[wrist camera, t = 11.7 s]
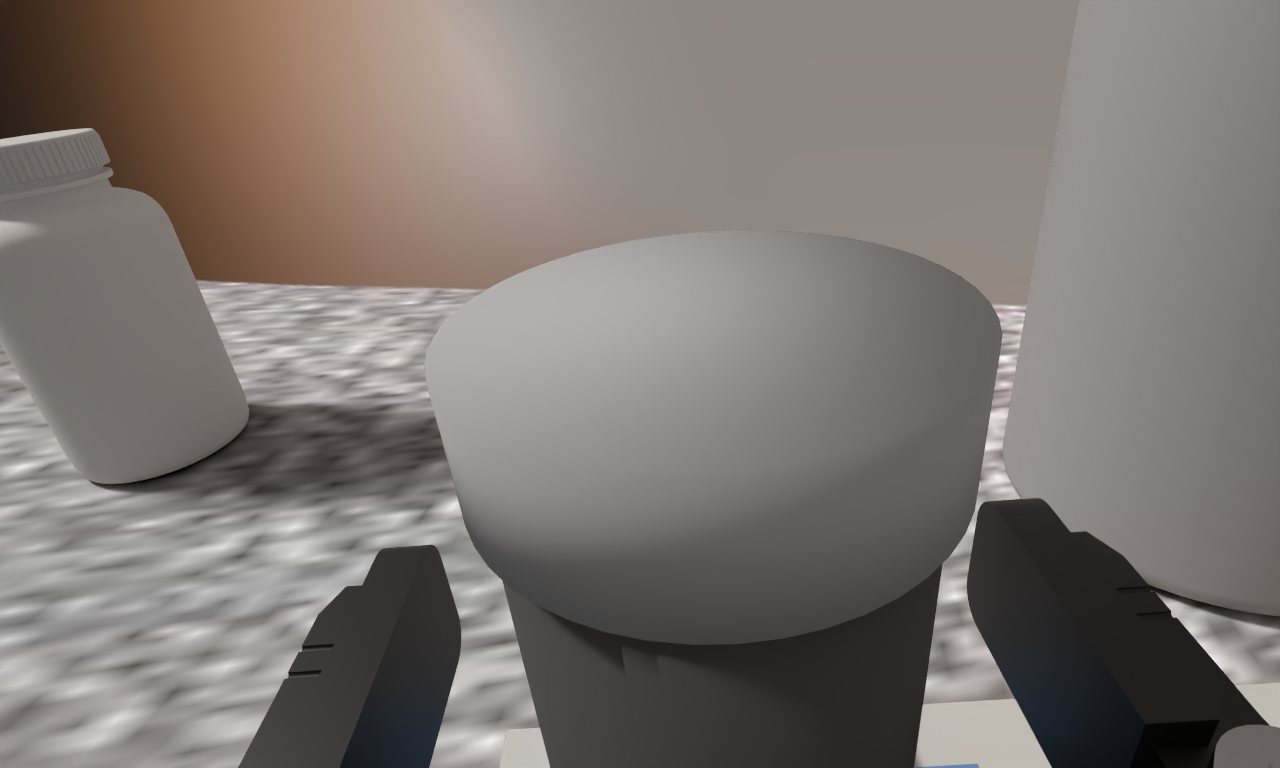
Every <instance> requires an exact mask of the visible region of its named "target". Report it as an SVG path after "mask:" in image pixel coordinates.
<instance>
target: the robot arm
mask: <svg viewBox="0 0 1280 768" xmlns="http://www.w3.org/2000/svg"><path fill="white" fill-rule="evenodd" d="M967 594H968V601H969V606H970V610H971V613H972V616H973V619H974V621H975V623H976V626H977V628H978V629H979V631H980V633H981V635H982V637H983V639H984V641H985V643H986V645H987V646H988V648H989V650H990V652H991V654H992V656H993V658H994V660H995V662H996V663H997V665H998V667H999V669H1000V671H1001V673H1002V675H1003V677H1004V679H1005V680H1006V682H1007V684H1008V686H1009V688H1010V690H1011V692H1012V694H1013V696H1014V697H1015V699H1016V701H1017V703H1018V705H1019V707H1020V709H1021V711H1022V713H1023V714H1024V716H1025V718H1026V720H1027V722H1028V724H1029V726H1030V728H1031V730H1032V731H1033V733H1034V735H1035V737H1036V739H1037V741H1038V743H1039V745H1040V747H1041V748H1042V750H1043V752H1044V754H1045V756H1046V758H1047V760H1048V762H1049V764H1050V765H1051V767H1052V768H1280V728H1279V727H1274V726H1270V725H1269V724H1268V723H1267V722H1266V721H1265V720H1264V719H1263V718H1262V717H1261V715H1260V714H1259V713H1258V712H1257V711H1256V710H1255V708H1254V707H1253V706H1252V705H1251V704H1250V703H1249V701H1248V700H1247V699H1246V698H1245V697H1244V696H1243V694H1242V693H1241V692H1240V691H1239V690H1238V689H1237V687H1236V686H1235V685H1234V684H1233V683H1232V682H1231V680H1230V679H1229V678H1228V677H1227V676H1226V675H1225V673H1224V672H1223V671H1222V670H1221V669H1220V668H1219V666H1218V665H1217V664H1216V663H1215V662H1214V661H1213V659H1212V658H1211V657H1210V656H1209V655H1208V654H1207V652H1206V651H1205V650H1204V649H1203V648H1202V647H1201V645H1200V644H1199V643H1198V642H1197V641H1196V640H1195V638H1194V637H1193V636H1192V635H1191V634H1190V633H1189V631H1188V630H1187V629H1186V628H1185V627H1184V626H1183V624H1182V623H1181V622H1180V621H1179V620H1178V619H1177V618H1173V617H1172V615H1171V611H1170V609H1169V608H1168V607H1167V606H1166V605H1165V604H1164V602H1163V601H1162V600H1161V599H1160V598H1159V597H1158V595H1157V594H1156V593H1155V592H1151V591H1150V589H1149V585H1148V584H1147V583H1146V581H1145V580H1144V579H1143V578H1142V577H1141V576H1140V574H1139V573H1138V572H1137V571H1136V570H1135V569H1134V567H1133V566H1132V565H1131V564H1130V563H1129V562H1128V560H1127V559H1126V558H1125V557H1124V556H1123V555H1122V554H1120V553H1119V552H1117V551H1116V550H1114V549H1113V548H1111V547H1109V546H1108V545H1106V544H1105V543H1103V542H1102V541H1100V540H1099V539H1097V538H1096V537H1094V536H1093V535H1091V534H1090V533H1088V532H1087V531H1082V532H1070V531H1069V529H1068V528H1067V527H1066V526H1065V524H1064V523H1063V522H1062V521H1061V519H1060V518H1059V517H1058V516H1057V514H1056V513H1055V512H1054V511H1053V509H1052V508H1051V507H1050V506H1049V505H1048V503H1047V502H1045V501H1044V500H1043V499H1040V498H1029V499H1015V500H1002V501H989V502H984V503H983V504H982V505H981V506H980V508H979V511H978V516H977V522H976V528H975V534H974V541H973V547H972V553H971V559H970V565H969V572H968V578H967ZM460 649H461V626H460V620H459V615H458V612H457V609H456V605H455V602H454V599H453V596H452V592H451V589H450V586H449V583H448V579H447V576H446V573H445V569H444V566H443V563H442V560H441V556H440V554H439V551H438V549H437V548H436V547H435V546H434V545H423V546H410V547H396V548H385V549H382V550H381V551H380V552H379V553H378V554H377V556H376V558H375V560H374V562H373V564H372V566H371V568H370V570H369V572H368V575H367V577H366V579H365V581H364V583H363V585H361V586H347V587H345V588H344V589H343V590H342V591H341V592H340V593H339V594H338V595H337V596H336V597H335V598H334V599H333V600H332V601H331V602H330V603H329V605H328V606H327V607H326V608H325V609H324V610H323V611H322V612H321V613H320V614H319V615H318V616H317V618H316V620H315V622H314V624H313V626H312V628H311V630H310V632H309V634H308V636H307V637H306V639H305V641H304V643H303V645H302V652H299V653H298V655H297V657H296V658H295V660H294V662H293V664H292V666H291V668H290V670H289V672H288V673H289V677H288V679H284V681H283V683H282V685H281V687H280V689H279V691H278V693H277V695H276V697H275V699H274V700H273V702H272V704H271V706H270V708H269V710H268V712H267V714H266V716H265V718H264V720H263V721H262V723H261V725H260V727H259V729H258V731H257V733H256V735H255V737H254V739H253V741H252V742H251V744H250V746H249V748H248V750H247V752H246V754H245V756H244V758H243V760H242V761H241V763H240V765H239V767H238V768H429V766H430V762H431V759H432V755H433V751H434V748H435V744H436V741H437V737H438V733H439V730H440V726H441V723H442V719H443V715H444V712H445V708H446V704H447V701H448V697H449V694H450V690H451V686H452V683H453V679H454V676H455V672H456V668H457V665H458V661H459V656H460Z"/></svg>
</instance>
